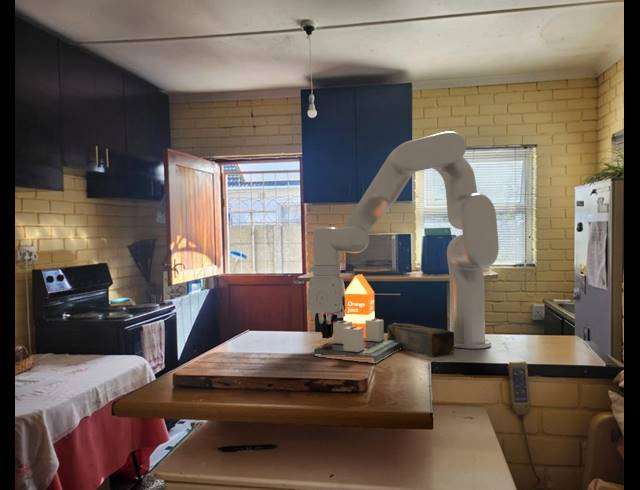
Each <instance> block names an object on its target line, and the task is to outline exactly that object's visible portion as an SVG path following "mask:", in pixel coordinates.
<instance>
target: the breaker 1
mask: <svg viewBox="0 0 640 490" xmlns="http://www.w3.org/2000/svg"><path fill="white" fill-rule="evenodd" d="M363 349H364V328H363V327H357V326H353V327H351V326H349V327H346V328H343V350H344V351H353V352H359V351H361V350H363Z"/></svg>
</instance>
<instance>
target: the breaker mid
mask: <svg viewBox="0 0 640 490" xmlns="http://www.w3.org/2000/svg"><path fill="white" fill-rule="evenodd" d="M349 326H351V327H352V322H348V321H345V320H344V319H343V320H336V321H335V322H334V323H333V336H332V338H333V339H332V341H333V343H339V344H343V328H346V327H349Z"/></svg>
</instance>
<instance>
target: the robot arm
mask: <svg viewBox="0 0 640 490" xmlns="http://www.w3.org/2000/svg"><path fill="white" fill-rule="evenodd" d="M466 150H467V144H466V140H465V139H464V137H463V136H462V135H461V134H460V133H458V132H455V131H444V132H439V133H435V134H432V135H428V136H424V137H420V138H416V139H413V140H408V141H405V142H403V143H401V144H399V145H398V146H397V147H396V148H394V149H393V150H392V151H391V152H390V154H388V156H387V158H386V159H385V161H384V163H383V164H382V166H381V167H380V169H379V171H377V173H376V175H375V177H374V178H373V180H372V181H371V183H370V185H369V186H368V188H367V189H366V191H365V192H364V194H363V195H362V197H361V199H360V200H359V202H358V203H357V205H356V206H355V208H354V210H353V211H352V212H351V213H350V215H349V217H348V218H347V220H346V221H345V223H344V224H343V226H342V227H334V226H321V227H315V228H314V230H313V233H312V251H313V252H312V253H313V254H312V259H313V260H312V262H313V263H312V264H313V265H312V266H310V268H309V272H311V273H312V276H310V278H309V284H308V289H307V310H308V311H309V315H310V316H312V317H315V318H317V320H318V322H319V324H321V326H320V329H321V331H320V333H321V335H322V336H321V338H322V339H330V338H333V323H334V322H337V321H338V319H341V318H344V317H345V309H346V297H345V291H346V288H345V284H344V283H345V282H344V277H343V276H341V253H342V252H343V253H349V254H359V253H362V252H364V251H365V250H366V249H367V248H368V246H369V244H370V236H369V233H370V232H371V230H372V229H373V227H374V226H375V224H376V223H377V222H378V221H379V219H381V217H383V216H384V215H385V214H386V213H387V212H388V211H390V209H391V208H392V207H393V206H394V205H395V203H396V201H397V199H398V198H399V196H400V194H401V193H402V192H403V190H404V188H405V187H406V185H407V184H408V182H409V181H410V179H411V177H412V176H413V174H414V173H416V172H420V171H421V172H422V171H425V170H430V169H433V170H435V171H436V172H437V173H438V174H439V175H440V176H441V178H442V180H443V183H444V188H445V196H446V197H445V199H446V210H447V211H446V213H447V218H448V219H447V220H448V222H449V224H450V225H451V226H452V227H453V228H455V229H458V230H461V232H462V234H460V235H456V236H455V237H454V238H453V239H451V240H450V242H449V243H448V246H447V249H446V260H447V265H448V266H447V267H448V274H449V331H450V332H454V348H458V349H465V350H466V349H467V350H469V349H471V350H476V349H478V350H480V349H485V348H486V349H487V348H490V347H491V346H492V342H491V341H490V340H489V339H487V338H486V319H485V317H486V313H485V311H486V310H485V309H486V308H485V306H486V305H485V301H486V300H485V297H486V296H485V290H486V289H485V287H486V286H485V277H484V276H485V275H484V272H483V271H484V269H486V268H487V269H488V268H489V267H490V266H492V265H494V263H495V262H496V261H497V258H498V255H499V250H500V249H499V234H498V221H497V220H498V219H497V212H496V208H495V205H494V203H493V201H492V200H491V199H490V198H489V197H488V196H487V195H485V194H482V193H478V191H477V190H478V188H477V182H476V176H475V173H474V170H473V167H472V166H471V164H470V163H469V162H468V160H467V159H466V158H465V157H464V156H465V153H466Z"/></svg>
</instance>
